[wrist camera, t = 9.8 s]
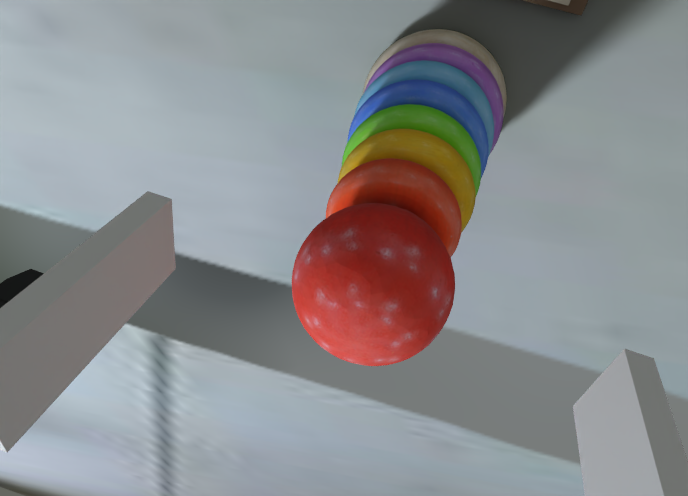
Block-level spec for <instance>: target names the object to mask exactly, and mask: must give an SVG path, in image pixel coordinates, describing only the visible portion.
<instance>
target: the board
mask: <svg viewBox="0 0 688 496" xmlns="http://www.w3.org/2000/svg"><path fill="white" fill-rule="evenodd" d="M523 1H527V2H530V3H534V4H538V5H542V6H546V7H550V8H554V9H557V10H561V11H565V12H569V13H573V14H577V15H582V13H583V11H584V8H585V6H586V4H587V2H588V0H523Z"/></svg>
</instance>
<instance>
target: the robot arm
mask: <svg viewBox="0 0 688 496" xmlns="http://www.w3.org/2000/svg"><path fill="white" fill-rule="evenodd" d="M174 270H175V251H174V234H173V216H172V199H170V198H167V197H164V196H161V195H157V194H154V193H151V192H146V193H145V194H144V195H143V196H141V197H140V198H139V199H137V200H136V201H135V202H134V203H132V204H131V205H130V206H129V207H127V208H126V209H125V210H124V211H122V212H121V213H120V214H119V215H117V216H116V217H115V218H114V219H112V220H111V221H110V222H108V223H107V224H106V225H105V226H103V227H102V228H101V229H100V230H98V231H97V232H96V233H95V234H93V235H92V236H91V237H90V238H88V239H87V240H86V241H85V242H83V243H82V244H81V245H79V246H78V247H77V248H76V249H75V250H73V251H72V252H71V253H69V254H68V255H67V256H66V257H64V258H63V259H62V260H61V261H59V262H58V263H57V264H55V265H54V266H53V267H52V268H50V269H49V270H48V271H47V272H45V273H41V272H38V271H35V270H32V269H29V270H27V271H25V272H22V273H20V274H18V275H15V276H13V277H10V278H8V279H6V280H5V281H3V282H2V283H1V284H0V450H2V451H4V452H8V451H9V450H10V449H11V448H12V447H13V446H14V445H15V443H16V442H17V441H18V440H19V439H20V438H21V437H22V436H23V435H24V434H25V433H26V431H27V430H28V429H29V428H30V427H31V426H32V425H33V424H34V423H35V422H36V421H37V419H38V418H39V417H40V416H41V415H42V414H43V413H44V412H45V411H46V410H47V408H48V407H49V406H50V405H51V404H52V403H53V402H54V401H55V400H56V399H57V398H58V396H59V395H60V394H61V393H62V392H63V391H64V390H65V389H66V388H67V387H68V386H69V384H70V383H71V382H72V381H73V380H74V379H75V378H76V377H77V376H78V375H79V373H80V372H81V371H82V370H83V369H84V368H85V367H86V366H87V365H88V364H89V363H90V361H91V360H92V359H93V358H94V357H95V356H96V355H97V354H98V353H99V352H100V351H101V349H102V348H103V347H104V346H105V345H106V344H107V343H108V342H109V341H110V340H111V339H112V337H113V336H114V335H115V334H116V333H117V332H118V331H119V330H120V329H121V328H122V326H123V325H124V324H125V323H126V322H127V321H128V320H129V319H130V318H131V317H132V315H133V314H134V313H135V312H136V311H137V310H138V309H139V308H140V307H141V306H142V305H143V304H144V302H145V301H146V300H147V299H148V298H149V297H150V296H151V295H152V294H153V293H154V291H155V290H156V289H157V288H158V287H159V286H160V285H161V284H162V283H163V282H164V280H165V279H166V278H167V277H168V276H169V275H170V274H171V273H172V272H173V271H174ZM573 410H574V417H575V425H576V433H577V440H578V446H579V455H580V462H581V469H582V477H583V484H584V491H585V496H688V461H687V457H686V455H685V451H684V448H683V445H682V442H681V439H680V436H679V433H678V431H677V427H676V424H675V421H674V418H673V415H672V412H671V409H670V406H669V403H668V400H667V397H666V394H665V391H664V388H663V385H662V382H661V379H660V376H659V373H658V370H657V367H656V364H655V361H654V358H651V357H648V356H645V355H642V354H639V353H636V352H633V351H630V350H627V349H624V350H623V351H622V352H621V353H620V354H619V355H618V356H617V357H616V359H615V360H614V361H613V362H612V363H611V364H610V365H609V366H608V367H607V369H606V370H605V371H604V372H603V373H602V374H601V375H600V376H599V378H598V379H597V380H596V381H595V382H594V383H593V384H592V386H591V387H590V388H589V389H588V390H587V391H586V392H585V393H584V395H583V396H582V397H581V398H580V399H579V400H578V401H577V402H576V404H574V406H573Z"/></svg>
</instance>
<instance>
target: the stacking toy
mask: <svg viewBox="0 0 688 496" xmlns="http://www.w3.org/2000/svg"><path fill="white" fill-rule="evenodd" d="M506 101H507V94H506V86H505V81H504V77H503V74H502V71H501V69H500V67H499V65H498V63H497V62H496V60H495V59H494V57H493V56H492V54H491V53H490V52H489V51H488V50H487V49H486V48H485V47H484V46H483V45H481V44H480V43H479V42H477V41H476V40H474V39H473V38H471V37H469V36H467V35H464V34H462V33H459V32H456V31H451V30H445V29H431V30H424V31H419V32H415V33H413V34H410V35H407V36H405V37H403V38H401V39H400V40H398V41H396V42H395V43H393V44H392V45H391V46H389V47H388V48H387V49H386V50H385V51H384V52H383V53H382V54H381V55H380V56H379V58H378V59H377V60H376V62H375V63H374V65H373V66H372V68H371V70H370V72H369V74H368V77H367V79H366V82H365V86H364V90H363V96H362V97H361V99H360V101H359V103H358V105H357V108H356V111H355V115H354V119H353V121H352V124H351V127H350V130H349V135H348V143H347V145H346V148H345V151H344V155H343V160H342V168H341V171H340V174H339V178H338V184H337V185H336V187H335V188H334V190H333V192H332V193H331V195H330V198H329V201H328V204H327V209H326V219H325V220H323V221H322V222H321V223H319V224H318V225H317V226H316V227H315V228H314V229H313V230H312V232H311V233H310V234H309V236H308V237H307V238H306V240H305V241H304V243H303V244H302V246H301V248H300V250H299V252H298V254H297V257H296V260H295V264H294V268H293V275H292V294H293V301H294V305H295V309H296V312H297V314H298V317H299V319H300V321H301V323H302V324H303V326H304V328H305V329H306V331H307V332H308V333H309V334H310V336H311V337H312V338H313V339H314V340H315V341H316V343H318V344H319V345H320V346H321V347H322V348H323V349H325V350H327V351H328V352H329V353H331V354H332V355H334V356H336V357H338V358H340V359H342V360H345V361H348V362H351V363H355V364H360V365H368V366H381V365H389V364H393V363H397V362H401V361H403V360H406V359H408V358H410V357H412V356H414V355H416V354H417V353H419V352H420V351H422V350H423V349H424V348H425V347H427V346H428V345H429V344H430V343H431V342H432V341H433V340H434V339H435V337H436V336H437V335H438V334H439V332H440V331H441V329H442V328H443V326H444V324H445V323H446V321H447V318H448V316H449V314H450V311H451V308H452V305H453V299H454V292H455V277H454V271H453V267H452V262H451V256H452V255H453V253H454V252H455V250H456V248H457V245H458V242H459V239H460V235H461V232H462V231H463V230H464V228H465V227H466V225H467V223H468V222H469V220H470V218H471V215H472V213H473V209H474V205H475V197H476V195H477V192H478V189H479V186H480V180H481V177H482V175H483V173H484V170H485V167H486V164H487V160H488V156H489V154H490V153H491V151H492V150H493V148H494V146H495V144H496V143H497V140H498V138H499V135H500V132H501V128H502V124H503V118H504V114H505V110H506Z"/></svg>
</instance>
